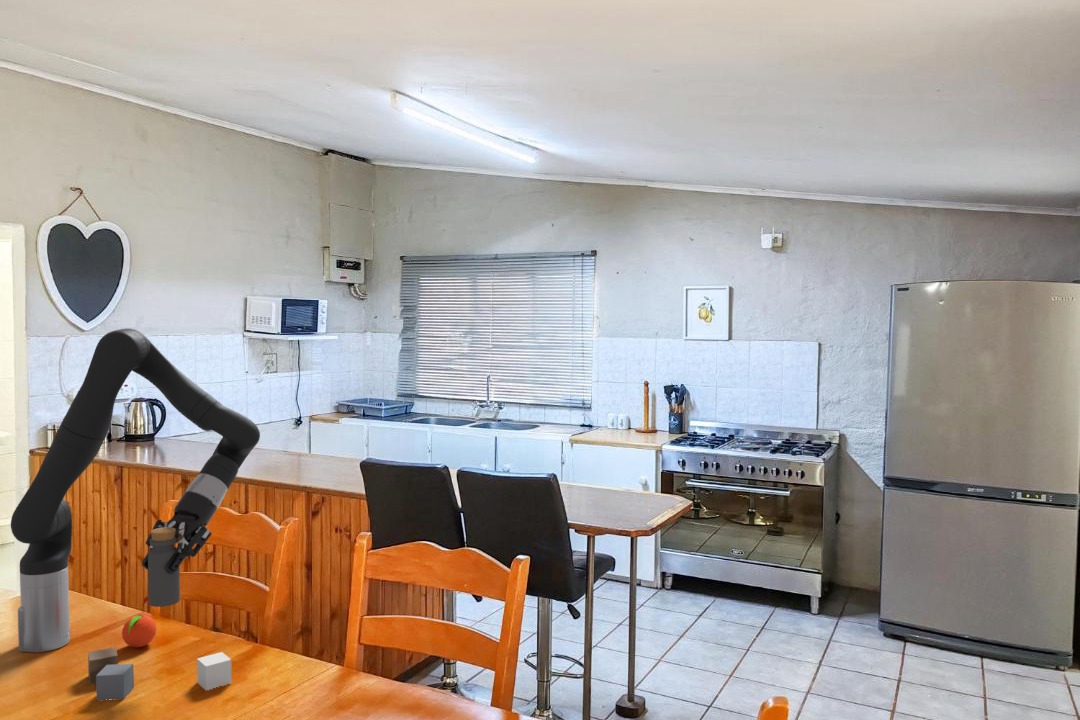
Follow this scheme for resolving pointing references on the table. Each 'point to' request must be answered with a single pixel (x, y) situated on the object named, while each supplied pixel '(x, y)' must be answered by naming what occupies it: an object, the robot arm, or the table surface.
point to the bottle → (162, 569)
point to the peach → (139, 631)
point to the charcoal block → (115, 681)
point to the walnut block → (100, 661)
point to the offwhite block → (214, 671)
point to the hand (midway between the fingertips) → (157, 569)
